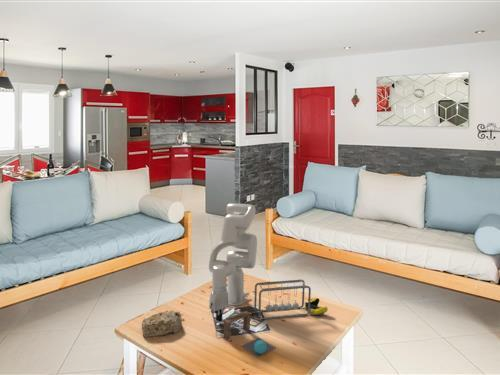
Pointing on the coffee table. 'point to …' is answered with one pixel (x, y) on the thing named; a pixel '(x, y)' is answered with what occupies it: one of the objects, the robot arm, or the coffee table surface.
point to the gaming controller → (315, 307)
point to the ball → (260, 347)
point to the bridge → (228, 321)
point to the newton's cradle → (282, 306)
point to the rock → (162, 323)
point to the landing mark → (250, 347)
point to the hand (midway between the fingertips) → (219, 320)
